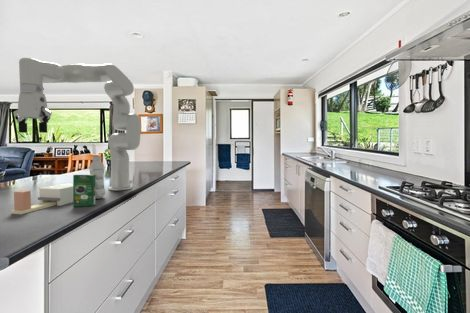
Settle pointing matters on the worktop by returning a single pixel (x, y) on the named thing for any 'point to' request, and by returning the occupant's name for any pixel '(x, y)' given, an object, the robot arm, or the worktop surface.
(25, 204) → the block on flat board
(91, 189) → the coffee box
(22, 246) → the worktop surface
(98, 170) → the plastic bottle
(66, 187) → the dispenser
